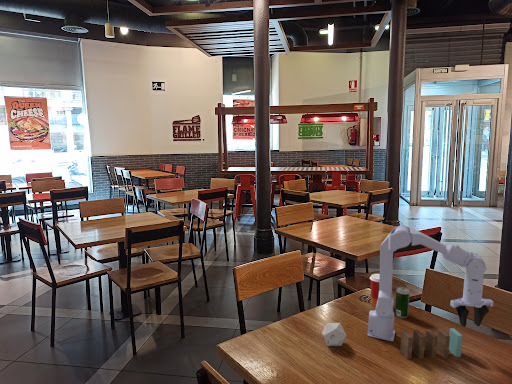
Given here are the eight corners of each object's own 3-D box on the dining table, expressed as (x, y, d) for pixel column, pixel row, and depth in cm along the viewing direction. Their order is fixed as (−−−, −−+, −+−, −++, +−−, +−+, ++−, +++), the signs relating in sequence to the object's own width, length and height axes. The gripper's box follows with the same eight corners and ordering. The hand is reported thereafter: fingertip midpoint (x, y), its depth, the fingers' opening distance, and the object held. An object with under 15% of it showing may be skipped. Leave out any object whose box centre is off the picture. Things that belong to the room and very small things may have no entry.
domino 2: (419, 358, 127) (420, 337, 126) (412, 350, 132) (413, 329, 131) (423, 358, 127) (425, 337, 126) (416, 350, 132) (417, 329, 131)
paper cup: (386, 302, 170) (387, 274, 168) (386, 309, 163) (387, 280, 161) (368, 300, 173) (370, 272, 171) (368, 307, 166) (369, 278, 164)
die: (317, 342, 138) (320, 331, 131) (328, 324, 143) (331, 313, 136) (336, 355, 135) (340, 345, 128) (346, 336, 140) (351, 326, 133)
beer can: (404, 319, 154) (406, 293, 152) (392, 315, 158) (394, 289, 156) (410, 315, 158) (411, 289, 156) (398, 311, 162) (399, 286, 160)
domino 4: (444, 357, 127) (445, 336, 126) (436, 349, 132) (437, 328, 131) (448, 357, 127) (450, 336, 126) (440, 349, 132) (441, 328, 131)
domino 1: (406, 358, 127) (408, 337, 125) (400, 350, 132) (401, 330, 130) (411, 358, 127) (412, 337, 126) (404, 350, 132) (405, 330, 130)
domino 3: (431, 357, 127) (433, 336, 126) (424, 349, 132) (425, 329, 131) (436, 357, 127) (437, 336, 126) (428, 349, 132) (429, 329, 131)
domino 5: (456, 356, 128) (458, 335, 127) (448, 348, 133) (449, 328, 131) (460, 356, 128) (462, 335, 127) (452, 348, 133) (453, 328, 132)
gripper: (460, 294, 123) (457, 331, 125) (500, 293, 124) (497, 330, 126) (448, 286, 130) (445, 321, 132) (486, 284, 131) (483, 320, 132)
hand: (469, 325), depth 129 cm, fingers open, 5 cm apart
